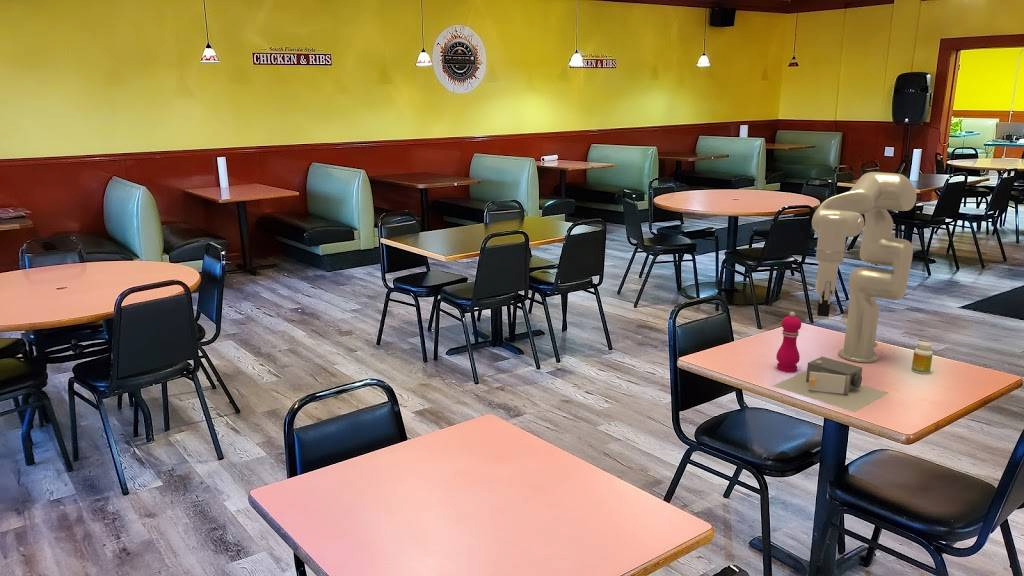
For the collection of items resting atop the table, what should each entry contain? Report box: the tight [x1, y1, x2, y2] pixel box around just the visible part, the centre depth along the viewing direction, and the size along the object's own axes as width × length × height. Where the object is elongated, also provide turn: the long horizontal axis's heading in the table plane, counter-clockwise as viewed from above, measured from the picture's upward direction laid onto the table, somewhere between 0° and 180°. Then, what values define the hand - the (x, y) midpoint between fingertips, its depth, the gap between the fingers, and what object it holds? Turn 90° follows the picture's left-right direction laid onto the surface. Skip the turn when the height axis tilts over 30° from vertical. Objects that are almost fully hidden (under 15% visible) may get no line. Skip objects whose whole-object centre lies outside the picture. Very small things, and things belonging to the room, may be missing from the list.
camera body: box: [806, 356, 863, 393], centre depth 236 cm, size 9×14×7 cm, turn 41°
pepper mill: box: [775, 311, 802, 373], centre depth 248 cm, size 7×7×20 cm
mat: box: [772, 370, 889, 413], centre depth 234 cm, size 22×26×1 cm
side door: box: [808, 372, 850, 395], centre depth 229 cm, size 2×11×6 cm, turn 71°
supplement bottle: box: [911, 341, 934, 375], centre depth 249 cm, size 5×5×10 cm
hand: (822, 315), depth 228 cm, fingers closed
